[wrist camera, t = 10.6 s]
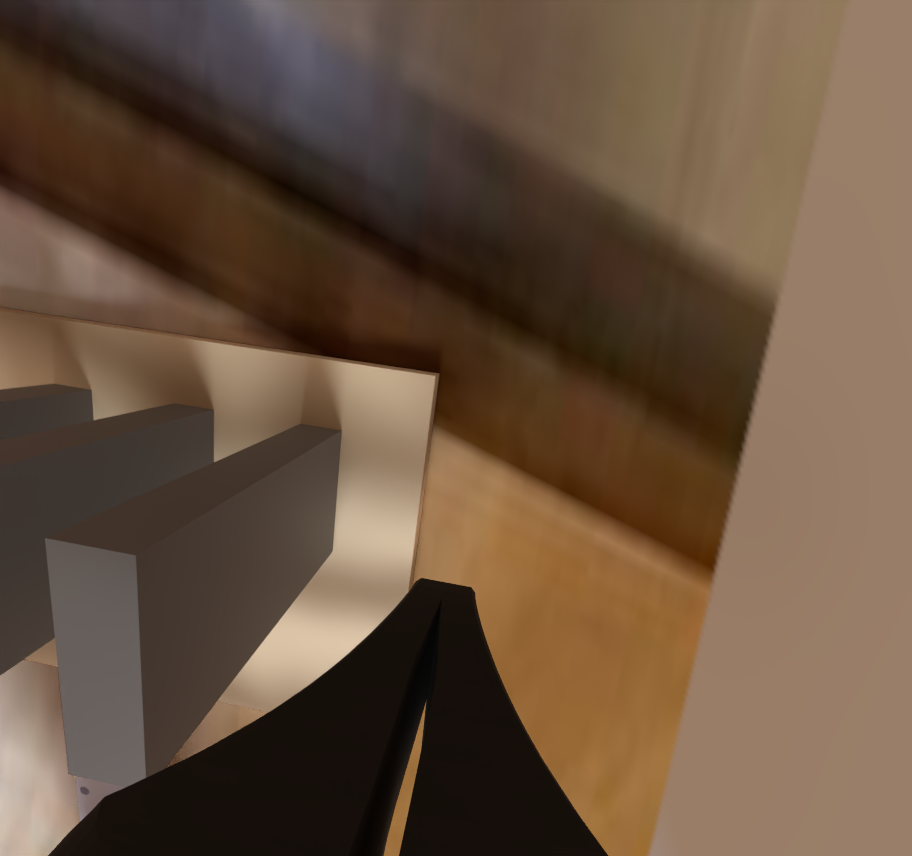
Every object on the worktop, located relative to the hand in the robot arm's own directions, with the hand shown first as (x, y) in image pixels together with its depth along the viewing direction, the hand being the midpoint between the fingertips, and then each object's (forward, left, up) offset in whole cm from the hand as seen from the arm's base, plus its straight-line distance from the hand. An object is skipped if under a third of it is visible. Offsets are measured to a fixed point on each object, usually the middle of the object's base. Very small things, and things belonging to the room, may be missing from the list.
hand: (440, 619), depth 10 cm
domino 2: (0, +6, -6) cm, 8 cm away
